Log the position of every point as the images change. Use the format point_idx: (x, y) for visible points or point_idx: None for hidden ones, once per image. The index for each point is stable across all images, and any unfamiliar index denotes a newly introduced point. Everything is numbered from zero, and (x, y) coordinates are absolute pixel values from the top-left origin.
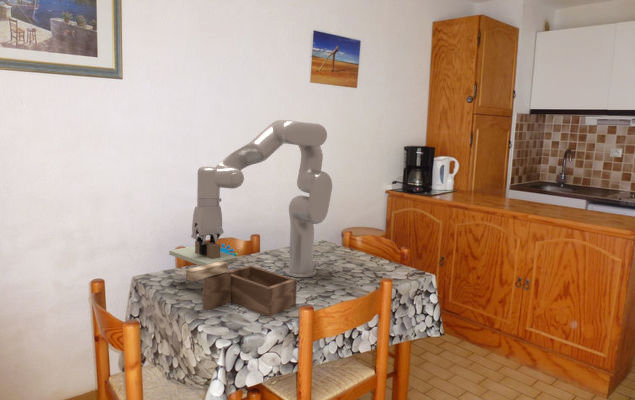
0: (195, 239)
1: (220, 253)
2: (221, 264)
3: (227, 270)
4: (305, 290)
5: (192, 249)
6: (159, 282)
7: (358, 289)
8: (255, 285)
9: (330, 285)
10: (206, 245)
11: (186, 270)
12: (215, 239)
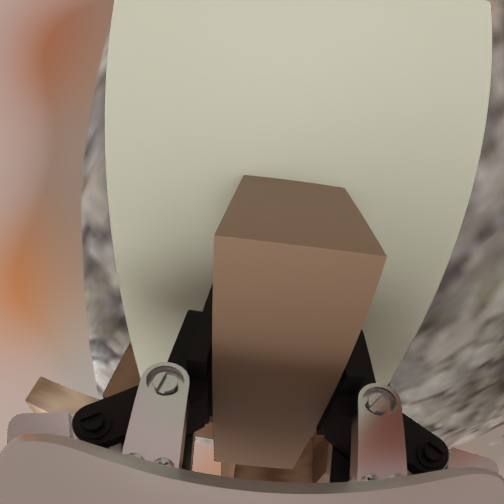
0: (74, 418)
1: (382, 338)
2: None
3: None
4: (423, 407)
5: (333, 41)
6: None
7: (454, 439)
8: (221, 466)
9: (467, 412)
10: (210, 414)
11: (27, 400)
12: (339, 459)
